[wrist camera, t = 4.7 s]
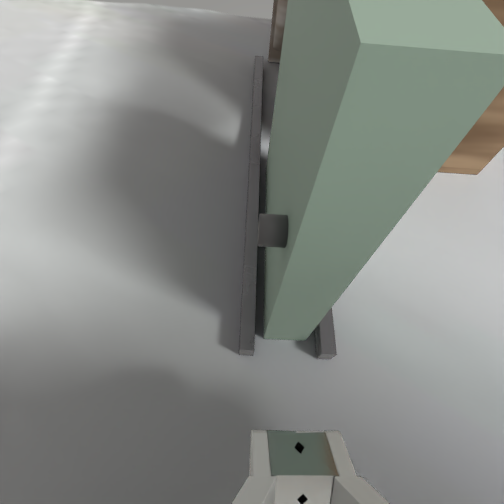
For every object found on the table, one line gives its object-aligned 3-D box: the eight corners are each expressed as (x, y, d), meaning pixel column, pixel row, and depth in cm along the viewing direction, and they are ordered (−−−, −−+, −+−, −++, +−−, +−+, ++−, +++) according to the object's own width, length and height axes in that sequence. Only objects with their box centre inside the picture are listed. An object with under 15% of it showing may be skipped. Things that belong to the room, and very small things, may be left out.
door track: (330, 359, 18) (336, 354, 17) (238, 354, 18) (239, 349, 17) (303, 71, 33) (305, 60, 32) (254, 67, 33) (255, 56, 32)
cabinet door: (305, 340, 18) (526, 55, 5) (246, 337, 18) (292, 37, 4) (295, 159, 26) (365, -145, 12) (254, 156, 26) (280, -153, 12)
